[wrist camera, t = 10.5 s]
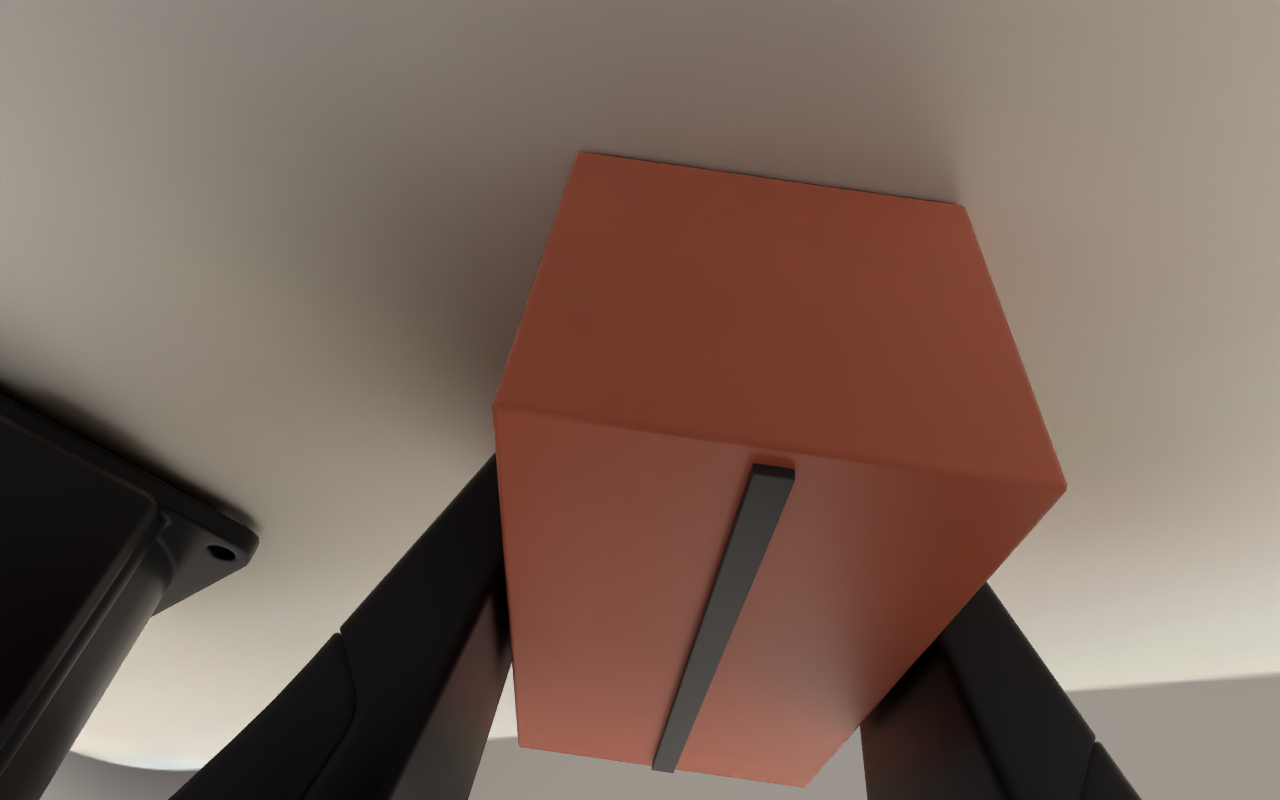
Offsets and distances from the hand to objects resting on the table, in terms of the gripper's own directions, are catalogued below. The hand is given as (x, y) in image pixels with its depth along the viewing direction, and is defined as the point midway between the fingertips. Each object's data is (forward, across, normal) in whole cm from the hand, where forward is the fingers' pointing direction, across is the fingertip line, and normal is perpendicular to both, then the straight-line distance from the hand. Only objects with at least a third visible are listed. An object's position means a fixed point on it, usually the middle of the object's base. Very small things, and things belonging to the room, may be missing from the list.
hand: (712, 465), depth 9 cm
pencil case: (+1, 0, 0) cm, 1 cm away
